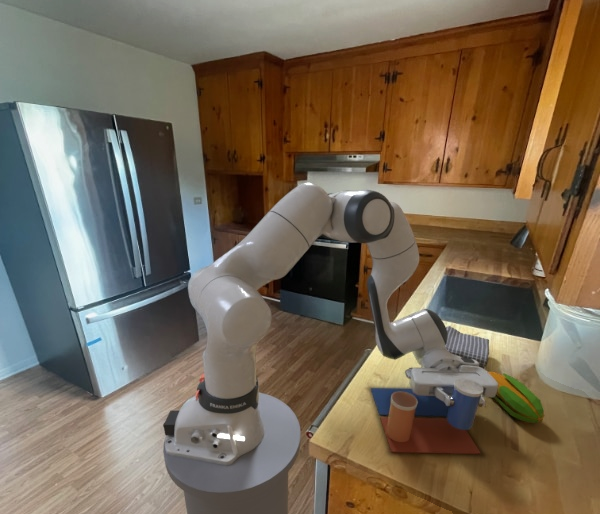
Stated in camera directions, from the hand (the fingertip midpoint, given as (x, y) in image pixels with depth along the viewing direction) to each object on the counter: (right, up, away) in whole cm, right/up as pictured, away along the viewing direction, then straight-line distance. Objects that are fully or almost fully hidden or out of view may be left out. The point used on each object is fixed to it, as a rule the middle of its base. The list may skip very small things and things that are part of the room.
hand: (466, 404), depth 74 cm
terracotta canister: (-14, -8, +4) cm, 17 cm away
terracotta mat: (-7, -9, +5) cm, 12 cm away
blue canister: (0, -5, +3) cm, 6 cm away
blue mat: (-7, -4, +16) cm, 18 cm away
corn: (+19, -5, +16) cm, 25 cm away
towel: (+17, +4, +37) cm, 41 cm away
